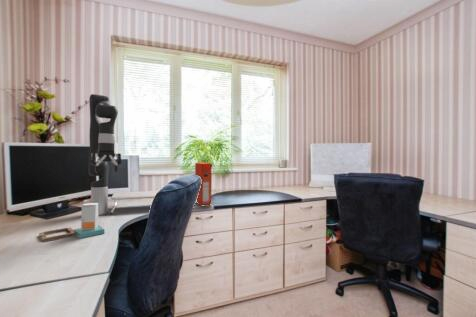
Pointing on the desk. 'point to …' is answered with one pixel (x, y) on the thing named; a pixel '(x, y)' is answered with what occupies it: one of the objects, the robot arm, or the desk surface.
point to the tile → (89, 232)
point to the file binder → (204, 182)
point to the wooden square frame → (70, 230)
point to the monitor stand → (131, 196)
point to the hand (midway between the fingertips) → (106, 172)
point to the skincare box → (89, 216)
